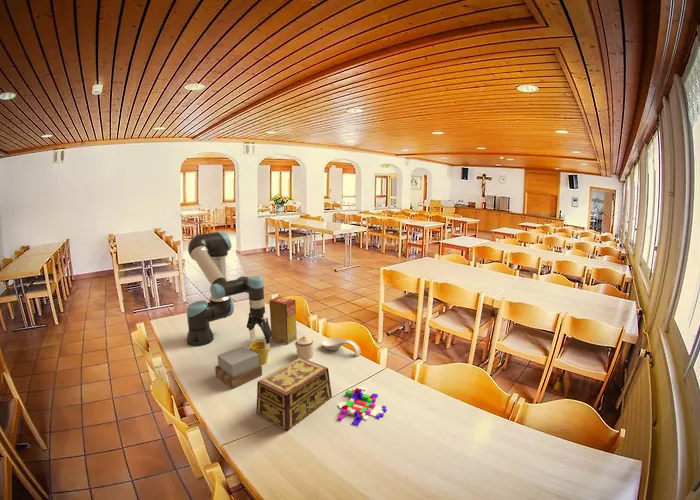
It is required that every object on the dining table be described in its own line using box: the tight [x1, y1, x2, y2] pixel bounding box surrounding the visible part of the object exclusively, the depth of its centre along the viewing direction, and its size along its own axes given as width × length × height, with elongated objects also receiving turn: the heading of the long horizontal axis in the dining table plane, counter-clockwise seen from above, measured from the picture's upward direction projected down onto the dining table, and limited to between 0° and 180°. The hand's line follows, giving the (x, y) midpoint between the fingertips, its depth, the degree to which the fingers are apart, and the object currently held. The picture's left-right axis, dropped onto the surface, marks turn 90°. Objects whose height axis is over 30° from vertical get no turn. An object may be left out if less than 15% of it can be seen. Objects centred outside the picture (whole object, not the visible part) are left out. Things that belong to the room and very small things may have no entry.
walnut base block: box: [214, 364, 263, 390], centre depth 183 cm, size 16×16×6 cm
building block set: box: [337, 385, 388, 427], centre depth 158 cm, size 25×20×4 cm
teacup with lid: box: [294, 335, 314, 360], centre depth 202 cm, size 12×9×12 cm
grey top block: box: [217, 345, 259, 377], centre depth 181 cm, size 14×14×6 cm
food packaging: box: [269, 295, 298, 345], centre depth 220 cm, size 13×9×25 cm
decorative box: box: [255, 357, 333, 432], centre depth 158 cm, size 28×19×15 cm
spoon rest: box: [321, 337, 362, 357], centre depth 208 cm, size 24×12×7 cm, turn 58°
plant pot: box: [249, 340, 271, 366], centre depth 195 cm, size 10×10×10 cm
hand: (260, 345), depth 194 cm, fingers open, 13 cm apart
